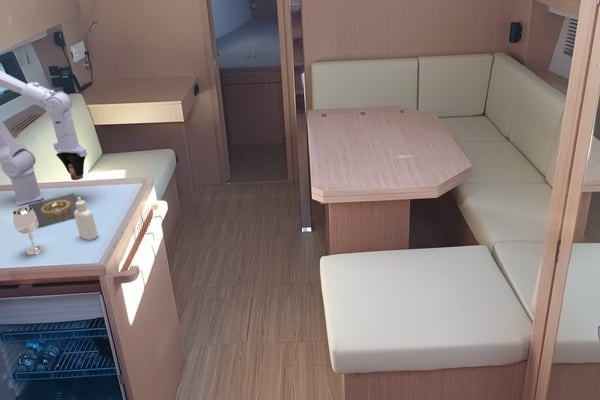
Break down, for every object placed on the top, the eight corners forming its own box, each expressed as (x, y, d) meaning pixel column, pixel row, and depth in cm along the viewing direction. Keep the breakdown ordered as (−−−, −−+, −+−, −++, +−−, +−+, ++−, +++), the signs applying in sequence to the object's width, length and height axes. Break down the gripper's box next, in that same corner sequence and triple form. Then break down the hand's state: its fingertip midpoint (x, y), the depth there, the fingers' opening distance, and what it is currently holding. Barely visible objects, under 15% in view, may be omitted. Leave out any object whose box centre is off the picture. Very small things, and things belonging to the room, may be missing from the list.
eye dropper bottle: (95, 230, 159) (85, 192, 153) (99, 238, 154) (89, 199, 149) (79, 234, 157) (68, 196, 152) (82, 242, 152) (72, 203, 147)
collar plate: (28, 206, 176) (26, 200, 175) (74, 195, 182) (72, 188, 181) (36, 228, 162) (34, 221, 161) (85, 215, 168) (83, 207, 167)
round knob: (71, 177, 178) (67, 162, 176) (83, 174, 179) (79, 160, 177) (71, 181, 175) (67, 166, 173) (83, 178, 176) (80, 164, 174)
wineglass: (21, 257, 147) (8, 217, 142) (25, 247, 152) (12, 208, 147) (45, 253, 148) (32, 213, 143) (47, 243, 153) (36, 204, 148)
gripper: (40, 133, 172) (51, 174, 178) (68, 140, 164) (78, 182, 170) (61, 127, 177) (71, 166, 183) (88, 133, 169) (98, 174, 175)
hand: (76, 173), depth 177 cm, fingers closed on round knob, 4 cm apart
